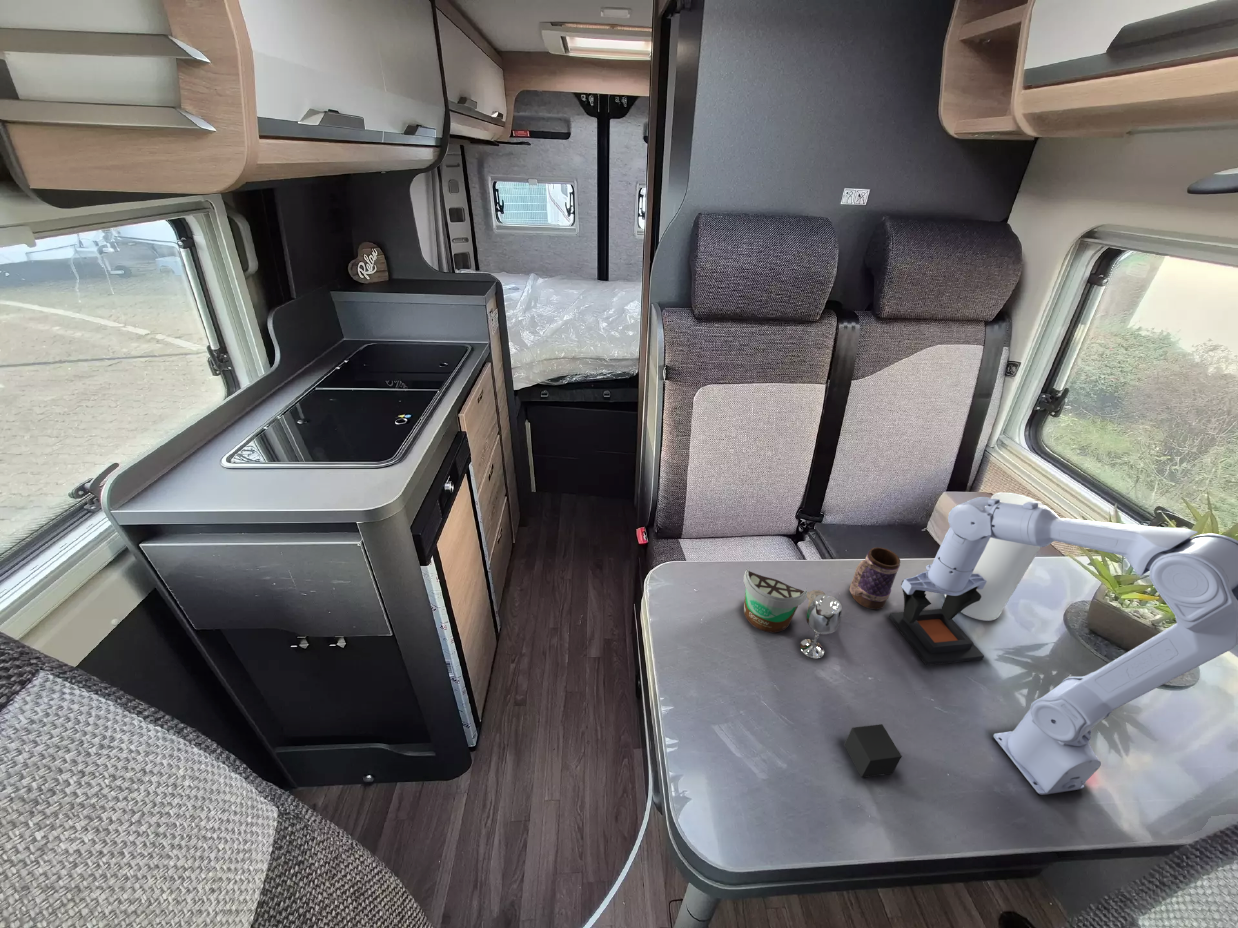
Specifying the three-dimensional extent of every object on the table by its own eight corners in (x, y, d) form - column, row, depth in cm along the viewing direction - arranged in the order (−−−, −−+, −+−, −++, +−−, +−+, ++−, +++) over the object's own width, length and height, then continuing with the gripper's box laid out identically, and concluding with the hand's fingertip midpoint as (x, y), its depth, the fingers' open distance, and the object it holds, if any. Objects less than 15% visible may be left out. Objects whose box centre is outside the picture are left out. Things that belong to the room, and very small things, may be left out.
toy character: (816, 611, 111) (816, 584, 110) (840, 627, 103) (840, 599, 103) (799, 614, 110) (799, 587, 109) (822, 630, 102) (822, 601, 102)
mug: (868, 582, 116) (885, 540, 110) (893, 605, 111) (912, 562, 105) (831, 593, 113) (847, 551, 107) (855, 617, 107) (873, 574, 101)
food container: (728, 621, 105) (737, 584, 100) (737, 601, 109) (746, 565, 104) (790, 646, 100) (803, 609, 95) (797, 625, 105) (809, 588, 100)
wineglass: (807, 664, 97) (823, 618, 91) (790, 639, 102) (805, 594, 95) (833, 658, 98) (851, 613, 92) (816, 634, 103) (832, 589, 97)
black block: (892, 773, 80) (902, 756, 78) (861, 777, 80) (870, 760, 77) (873, 740, 85) (882, 723, 82) (843, 744, 84) (851, 727, 82)
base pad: (982, 659, 100) (988, 649, 98) (926, 665, 98) (931, 655, 97) (940, 611, 110) (945, 602, 109) (888, 616, 108) (893, 606, 107)
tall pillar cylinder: (940, 578, 119) (985, 486, 106) (993, 592, 116) (1047, 499, 103) (948, 611, 110) (998, 516, 97) (1005, 626, 107) (1065, 530, 94)
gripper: (976, 543, 93) (948, 598, 100) (902, 547, 91) (878, 603, 98) (1007, 570, 87) (974, 627, 94) (928, 575, 85) (900, 633, 92)
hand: (927, 617), depth 96 cm, fingers open, 7 cm apart
